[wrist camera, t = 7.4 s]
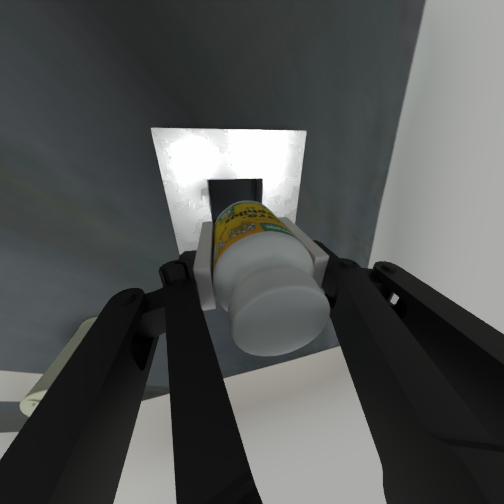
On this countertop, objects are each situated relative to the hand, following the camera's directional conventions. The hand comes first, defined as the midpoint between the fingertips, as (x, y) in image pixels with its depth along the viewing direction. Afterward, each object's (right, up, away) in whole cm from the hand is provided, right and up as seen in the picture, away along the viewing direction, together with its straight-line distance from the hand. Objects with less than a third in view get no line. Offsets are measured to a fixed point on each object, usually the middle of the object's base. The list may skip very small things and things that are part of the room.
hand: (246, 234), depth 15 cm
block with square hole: (-2, +6, +11) cm, 13 cm away
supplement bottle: (0, 0, 0) cm, 1 cm away
